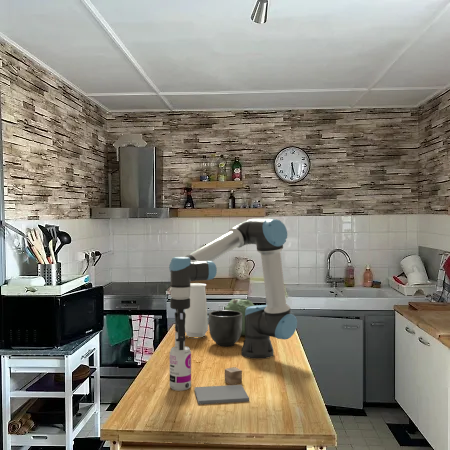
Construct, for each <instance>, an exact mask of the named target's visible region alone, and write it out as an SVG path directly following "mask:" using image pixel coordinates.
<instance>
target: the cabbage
mask: <svg viewBox="0 0 450 450" xmlns="http://www.w3.org/2000/svg"><path fill="white" fill-rule="evenodd" d="M250 306H255V304H254V303H253V302H252V300H250V299H247V298H246V299H242V298H234V299H231V300H230V301H229V302H228V303H227V305H226V306H225V307H224V310H232V311H238V312H241V313H242V314H243V322H242V332H241V336H245V310H246V308H247V307H250Z"/></svg>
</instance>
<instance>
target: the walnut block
mask: <svg viewBox="0 0 450 450" xmlns="http://www.w3.org/2000/svg"><path fill="white" fill-rule="evenodd" d="M224 382H225V383H227V384H228V385H240V384H242V383H243V370H242V369H240V368H238V367H237V366H235V367H229V368H224Z"/></svg>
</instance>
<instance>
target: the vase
mask: <svg viewBox="0 0 450 450" xmlns="http://www.w3.org/2000/svg"><path fill="white" fill-rule="evenodd" d="M206 286H207V284H206V283H201V282H200V283H199V282H195V283H194V282H193V283H191V282H190V297H189V298H190V308H188V309H184V312H185V314H186V318H185V335H186V337H187V336H189V337H203V336H205V337H206V334H207V332H209V317H208V304H207V303H208V302H207V295H206ZM189 337H188V338H189ZM203 338H204V337H203Z"/></svg>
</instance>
